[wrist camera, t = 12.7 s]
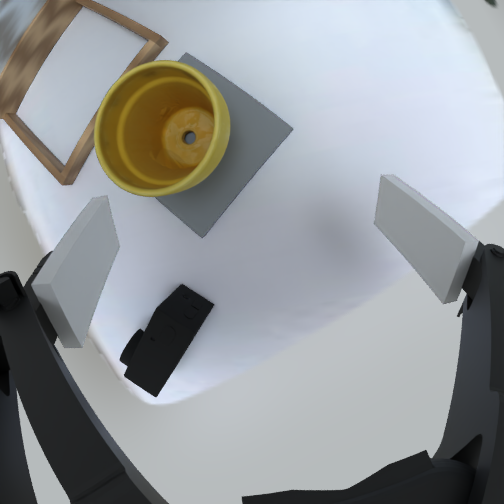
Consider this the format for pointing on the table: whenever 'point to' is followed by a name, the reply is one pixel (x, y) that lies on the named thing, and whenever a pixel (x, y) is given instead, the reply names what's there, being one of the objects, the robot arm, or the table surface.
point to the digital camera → (164, 339)
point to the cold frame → (34, 54)
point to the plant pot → (161, 129)
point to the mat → (228, 154)
